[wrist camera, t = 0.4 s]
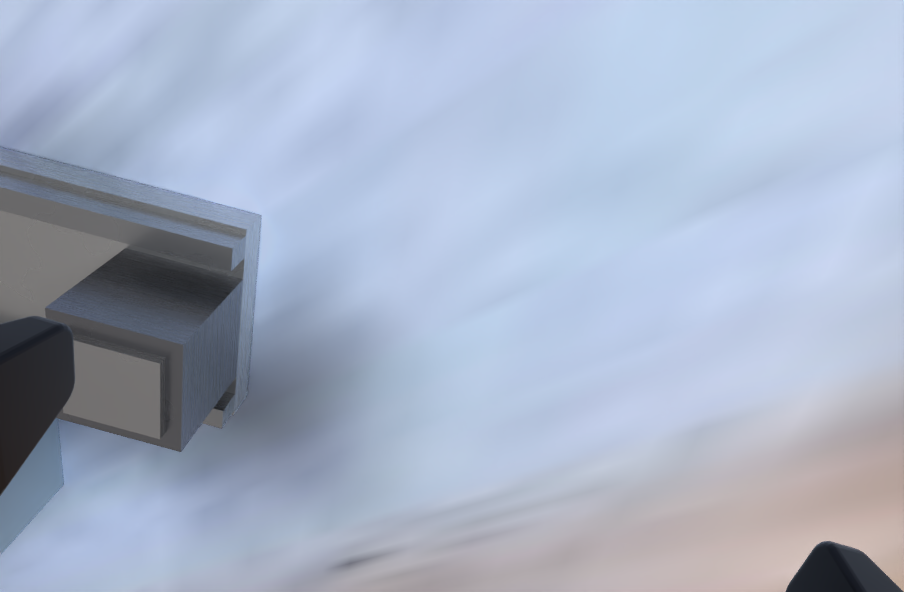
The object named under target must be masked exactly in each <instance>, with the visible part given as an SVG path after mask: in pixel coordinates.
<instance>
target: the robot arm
mask: <svg viewBox="0 0 904 592" xmlns="http://www.w3.org/2000/svg"><path fill="white" fill-rule="evenodd" d="M74 384H75V364H74V341H73V333H72V330H71V328H70V327H69V326H68V325H66V324H64V323H61V322H58V321H54V320H51V319H47V318H44V317H40V316H29V317H25V318H21V319H17V320H14V321H10V322H6V323H2V324H0V496H1V494H2V493H3V492H4V490H5V489H6V488H7V486H8V485H9V484H10V482H11V481H12V479H13V478H14V476H15V475H16V474H17V472H18V471H19V469H20V468H21V467H22V465H23V464H24V462H25V461H26V460H27V458H28V457H29V455H30V454H31V452H32V451H33V450H34V448H35V447H36V445H37V444H38V443H39V441H40V440H41V438H42V437H43V435H44V434H45V433H46V431H47V430H48V428H49V427H50V426H51V424H52V423H53V421H54V420H55V419H56V417H57V416H58V414H59V413H60V411H61V410H62V409H63V407H64V406H65V404H66V403H67V401H68V400H69V398H70V396H71V394H72V392H73V389H74ZM786 592H903V591H902V590H901V589H900V588H899V587H898V586H897V585H896V584H895V583H894V582H893V581H892V580H891V579H890V578H889V577H888V576H887V575H886V574H885V573H884V572H883V571H882V570H881V569H880V568H879V567H878V566H877V565H876V564H875V563H874V562H873V561H872V560H871V559H870V558H869V557H868V556H867V555H866V554H864V553H863V552H862V551H860V550H858V549H855V548H852V547H848V546H845V545H841V544H838V543H834V542H831V541H823V542H821V543H819V544H818V545H816V547H815V548H814V549H813V550H812V552H811V553H810V555H809V556H808V557H807V559H806V560H805V562H804V563H803V565H802V566H801V567H800V569H799V570H798V572H797V573H796V575H795V576H794V577H793V579H792V580H791V582H790V583H789V585H788V587H787V590H786Z"/></svg>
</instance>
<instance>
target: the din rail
mask: <svg viewBox="0 0 904 592" xmlns="http://www.w3.org/2000/svg"><path fill="white" fill-rule="evenodd" d="M261 216H262V215H259V214H255V213H251V212H247V211H243V210H239V209H236V208H232V207H228V206H224V205H220V204H217V203H213V202H209V201H205V200H201V199H198V198H194V197H190V196H186V195H182V194H178V193H175V192H171V191H167V190H163V189H159V188H156V187H152V186H148V185H144V184H140V183H136V182H133V181H129V180H125V179H121V178H117V177H114V176H110V175H106V174H102V173H98V172H95V171H91V170H87V169H83V168H79V167H75V166H72V165H68V164H64V163H60V162H56V161H53V160H49V159H45V158H41V157H37V156H33V155H30V154H26V153H22V152H18V151H14V150H11V149H7V148H3V147H0V324H2V323H6V322H10V321H14V320H17V319H21V318H25V317H29V316H40V317H44V318H47V319H51V320H54V321H58V322H61V323H64V324H66V325H68V326H69V327H70V328H71V330H72V333H73V341H74V364H75V384H74V389H73V392H72V394H71V396H70V398H69V400H68V401H67V403H66V404H65V406H64V407H63V409H62V410H61V411H60V413H59V414H58V416H57V417H56V418H59V419H62V420H66V421H70V422H73V423H77V424H81V425H84V426H88V427H92V428H95V429H99V430H103V431H106V432H110V433H113V434H117V435H121V436H124V437H128V438H132V439H135V440H139V441H143V442H146V443H150V444H154V445H157V446H161V447H165V448H168V449H172V450H176V451H179V452H181V451H182V450H183V449H184V447H185V446H186V444H187V443H188V442H189V440H190V439H191V438H192V436H193V435H194V434H195V432H196V431H197V429H198V428H199V427H200V425H201V424H202V423H203V424H207V425H211V426H214V427H218V428H223V426H224V425H225V423H226V422H227V421H228V419H229V418H230V416H231V415H234V414H235V413H236V411H237V410H238V408H239V407H240V405H241V404H242V402H243V401H244V399H245V398H246V397H247V391H248V378H249V366H250V353H251V341H252V328H253V316H254V303H255V291H256V278H257V266H258V253H259V241H260V228H261Z"/></svg>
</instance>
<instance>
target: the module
mask: <svg viewBox="0 0 904 592" xmlns="http://www.w3.org/2000/svg"><path fill="white" fill-rule="evenodd" d="M63 485H64V479H63V469H62V458H61V447H60V437H59V426H58V418H56V419H55V420H54V421H53V423H52V424H51V426H50V427H49V428H48V430H47V431H46V433H45V434H44V435H43V437H42V438H41V440H40V441H39V443H38V444H37V445H36V447H35V448H34V450H33V451H32V452H31V454H30V455H29V457H28V458H27V460H26V461H25V462H24V464H23V465H22V467H21V468H20V469H19V471H18V472H17V474H16V475H15V476H14V478H13V479H12V481H11V482H10V484H9V485H8V486H7V488H6V489H5V490H4V492H3V493H2V494H1V496H0V555H1V554H2V553H3V552H4V551H5V550H6V549H7V547H8V546H9V545H10V544H11V543H12V542H13V541H14V540H15V538H16V537H17V536H18V535H19V534H20V533H21V532H22V531H23V530H24V528H25V527H26V526H27V525H28V524H29V523H30V522H31V521H32V519H33V518H34V517H35V516H36V515H37V514H38V513H39V512H40V511H41V509H42V508H43V507H44V506H45V505H46V504H47V503H48V502H49V500H50V499H51V498H52V497H53V496H54V495H55V494H56V493H57V492H58V490H59V489H60V488H61V487H62V486H63Z"/></svg>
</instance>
